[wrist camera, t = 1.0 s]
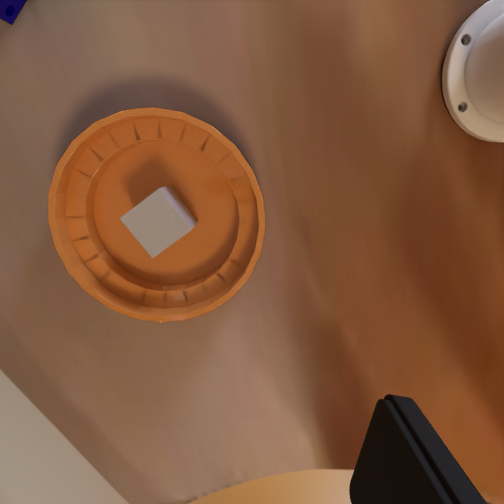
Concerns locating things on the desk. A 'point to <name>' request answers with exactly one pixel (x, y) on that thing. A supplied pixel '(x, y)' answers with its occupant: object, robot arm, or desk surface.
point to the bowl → (139, 188)
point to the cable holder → (10, 9)
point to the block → (159, 220)
